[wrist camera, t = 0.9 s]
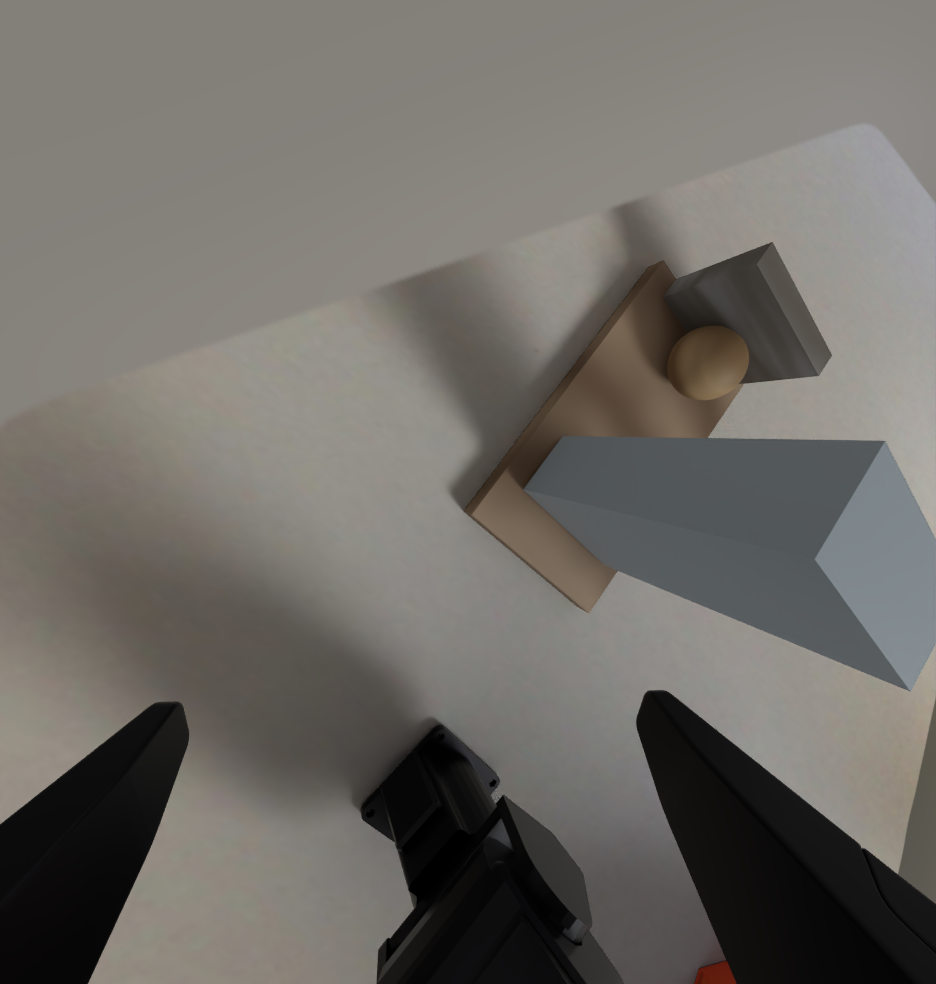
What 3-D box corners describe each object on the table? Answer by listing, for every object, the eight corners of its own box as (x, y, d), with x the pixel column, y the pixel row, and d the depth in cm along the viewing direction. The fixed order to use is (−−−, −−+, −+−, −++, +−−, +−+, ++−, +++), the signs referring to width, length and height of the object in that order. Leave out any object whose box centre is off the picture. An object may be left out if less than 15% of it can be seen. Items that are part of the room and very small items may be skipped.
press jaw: (604, 565, 28) (910, 691, 14) (523, 489, 25) (814, 559, 11) (637, 515, 29) (963, 592, 15) (562, 436, 26) (885, 440, 12)
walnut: (676, 416, 29) (739, 413, 25) (640, 369, 28) (701, 358, 24) (710, 367, 30) (776, 357, 26) (677, 319, 28) (742, 300, 24)
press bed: (577, 606, 30) (661, 656, 23) (463, 511, 25) (526, 539, 19) (728, 385, 33) (841, 373, 26) (648, 267, 28) (759, 217, 22)
